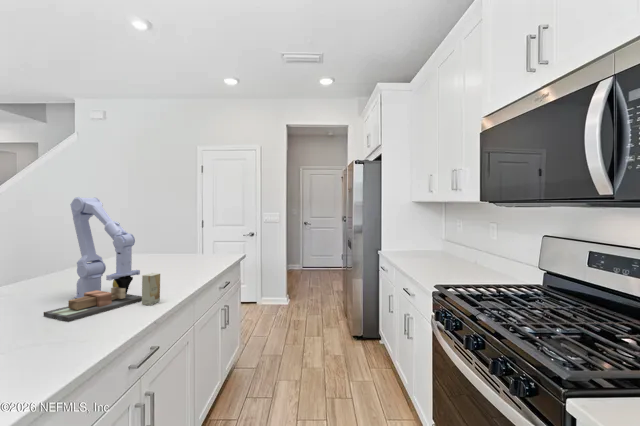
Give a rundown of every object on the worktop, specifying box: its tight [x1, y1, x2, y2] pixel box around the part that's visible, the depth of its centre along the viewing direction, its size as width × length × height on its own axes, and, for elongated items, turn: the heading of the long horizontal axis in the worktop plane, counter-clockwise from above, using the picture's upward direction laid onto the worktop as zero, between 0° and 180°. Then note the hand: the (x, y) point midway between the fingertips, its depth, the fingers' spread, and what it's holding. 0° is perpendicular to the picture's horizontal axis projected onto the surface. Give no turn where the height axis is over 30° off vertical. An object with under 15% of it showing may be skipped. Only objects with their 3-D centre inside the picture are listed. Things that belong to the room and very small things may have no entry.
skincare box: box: [141, 272, 161, 306], centre depth 147 cm, size 6×4×12 cm
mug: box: [112, 279, 118, 288], centre depth 173 cm, size 12×7×7 cm, turn 29°
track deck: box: [43, 290, 142, 323], centre depth 140 cm, size 14×32×6 cm, turn 157°
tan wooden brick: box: [67, 286, 126, 310], centre depth 139 cm, size 6×20×4 cm, turn 157°
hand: (123, 294), depth 150 cm, fingers closed
